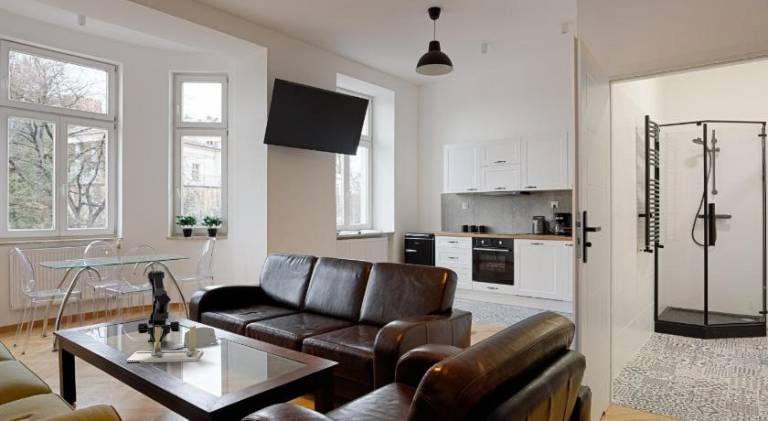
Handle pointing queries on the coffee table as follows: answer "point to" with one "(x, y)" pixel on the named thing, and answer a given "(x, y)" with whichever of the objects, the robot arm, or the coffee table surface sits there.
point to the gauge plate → (171, 352)
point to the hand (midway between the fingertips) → (157, 342)
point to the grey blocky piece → (201, 336)
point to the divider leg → (157, 342)
